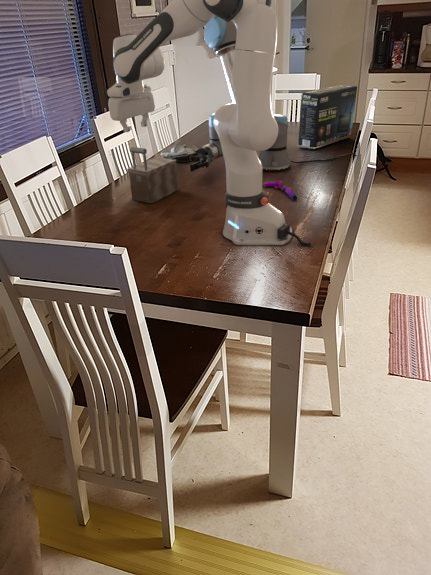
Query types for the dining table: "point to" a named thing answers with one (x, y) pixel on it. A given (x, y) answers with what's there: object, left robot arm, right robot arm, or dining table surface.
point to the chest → (153, 184)
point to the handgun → (281, 185)
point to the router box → (326, 115)
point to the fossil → (178, 150)
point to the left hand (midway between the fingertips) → (135, 129)
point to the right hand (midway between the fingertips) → (177, 166)
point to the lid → (148, 163)
